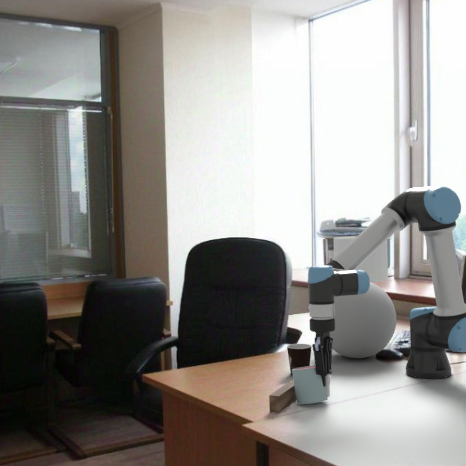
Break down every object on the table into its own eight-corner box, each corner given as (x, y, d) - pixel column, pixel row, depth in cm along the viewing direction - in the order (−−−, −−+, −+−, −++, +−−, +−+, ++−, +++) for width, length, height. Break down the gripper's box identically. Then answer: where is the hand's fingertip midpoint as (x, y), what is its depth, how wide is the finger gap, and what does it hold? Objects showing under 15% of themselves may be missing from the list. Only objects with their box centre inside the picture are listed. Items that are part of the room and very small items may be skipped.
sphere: (314, 350, 290) (313, 276, 289) (389, 348, 289) (387, 274, 288) (321, 367, 260) (319, 285, 259) (404, 365, 259) (402, 283, 258)
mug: (313, 403, 207) (308, 369, 208) (290, 404, 213) (285, 370, 215) (343, 395, 216) (338, 362, 217) (321, 396, 222) (315, 364, 224)
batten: (309, 390, 228) (308, 375, 228) (279, 413, 205) (278, 396, 205) (300, 389, 230) (299, 374, 229) (269, 412, 206) (269, 395, 206)
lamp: (397, 337, 312) (394, 235, 310) (377, 347, 292) (375, 238, 291) (348, 333, 324) (346, 235, 322) (327, 342, 305) (324, 238, 303)
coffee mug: (311, 377, 245) (310, 348, 245) (286, 377, 247) (285, 348, 246) (314, 369, 256) (313, 342, 256) (290, 369, 258) (289, 341, 258)
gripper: (316, 314, 220) (319, 390, 220) (302, 320, 208) (305, 401, 208) (340, 314, 217) (343, 391, 217) (327, 321, 205) (330, 403, 205)
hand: (324, 396), depth 213 cm, fingers closed
